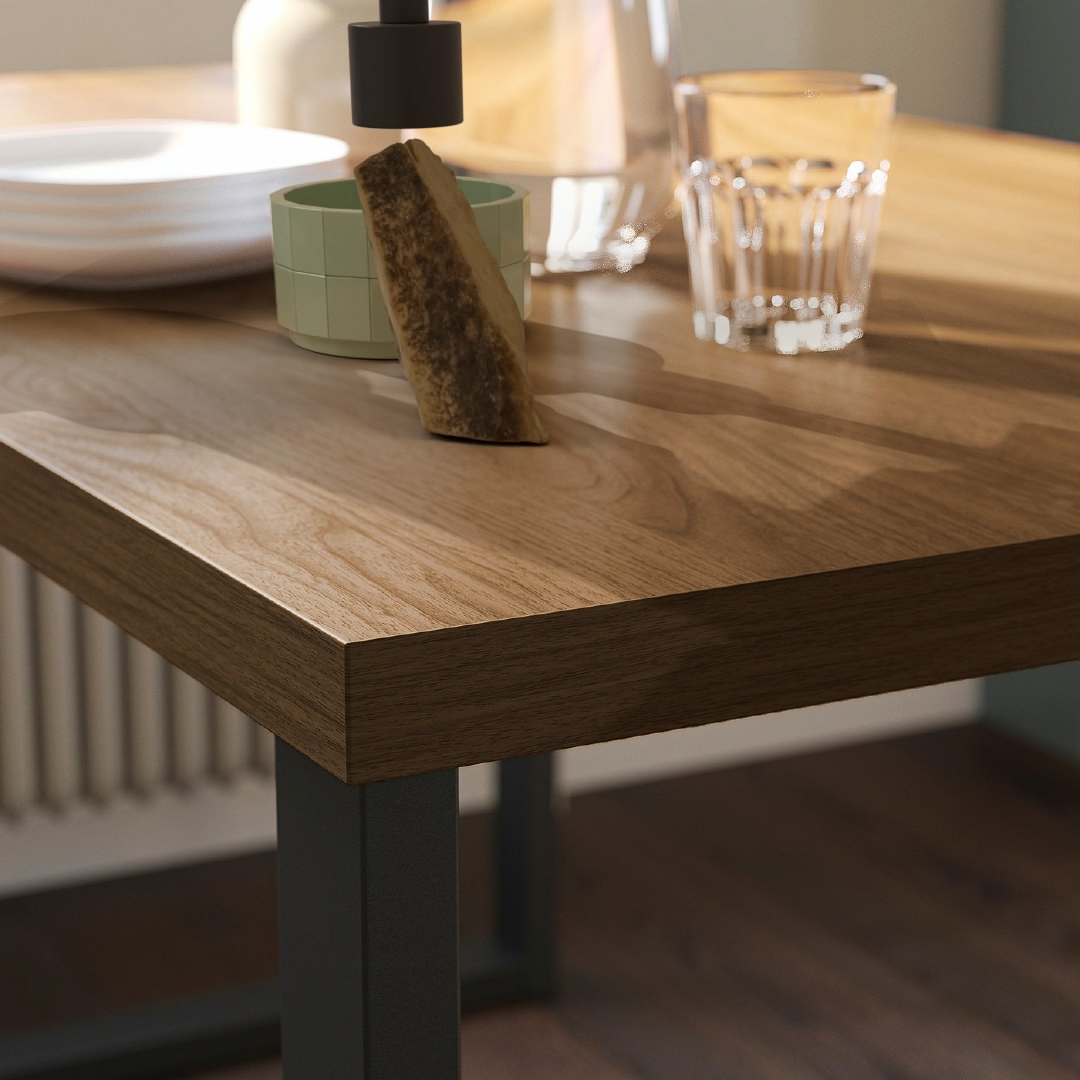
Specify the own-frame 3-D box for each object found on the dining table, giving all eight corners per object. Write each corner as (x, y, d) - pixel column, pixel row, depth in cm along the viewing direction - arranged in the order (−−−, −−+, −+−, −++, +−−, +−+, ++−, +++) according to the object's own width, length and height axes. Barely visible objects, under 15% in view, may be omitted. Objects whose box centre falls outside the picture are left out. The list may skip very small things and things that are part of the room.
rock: (341, 305, 70) (235, 322, 60) (469, 131, 67) (379, 121, 57) (547, 482, 69) (472, 529, 59) (685, 313, 66) (629, 334, 57)
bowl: (243, 358, 71) (233, 210, 69) (318, 304, 81) (312, 173, 79) (504, 366, 70) (502, 214, 68) (548, 309, 80) (547, 176, 78)
